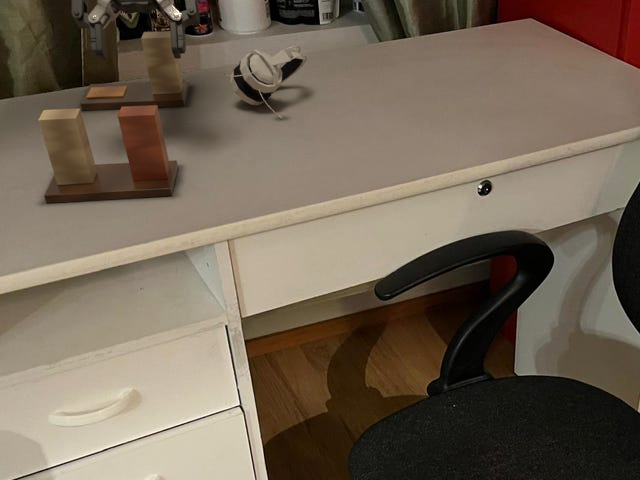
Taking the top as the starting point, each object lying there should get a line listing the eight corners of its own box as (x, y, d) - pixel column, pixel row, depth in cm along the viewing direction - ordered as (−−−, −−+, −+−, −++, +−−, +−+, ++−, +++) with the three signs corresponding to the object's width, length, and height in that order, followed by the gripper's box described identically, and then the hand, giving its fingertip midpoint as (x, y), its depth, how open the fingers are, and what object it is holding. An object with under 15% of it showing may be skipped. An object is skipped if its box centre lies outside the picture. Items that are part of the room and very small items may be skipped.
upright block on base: (82, 110, 122) (65, 46, 117) (91, 90, 128) (76, 28, 123) (184, 106, 124) (172, 42, 119) (189, 86, 131) (178, 25, 125)
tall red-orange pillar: (133, 181, 103) (117, 116, 98) (136, 170, 105) (121, 106, 100) (168, 179, 103) (154, 114, 98) (170, 168, 105) (157, 105, 101)
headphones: (184, 120, 119) (278, 82, 133) (241, 137, 115) (331, 97, 130) (176, 60, 114) (274, 28, 129) (234, 76, 110) (329, 41, 125)
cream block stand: (46, 203, 100) (23, 128, 94) (60, 173, 106) (39, 102, 100) (171, 196, 102) (156, 122, 96) (178, 167, 108) (164, 97, 103)
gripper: (59, -88, 100) (66, 43, 98) (186, -89, 103) (195, 39, 101) (79, -49, 108) (86, 73, 106) (197, -51, 110) (206, 69, 108)
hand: (139, 56), depth 103 cm, fingers open, 8 cm apart
